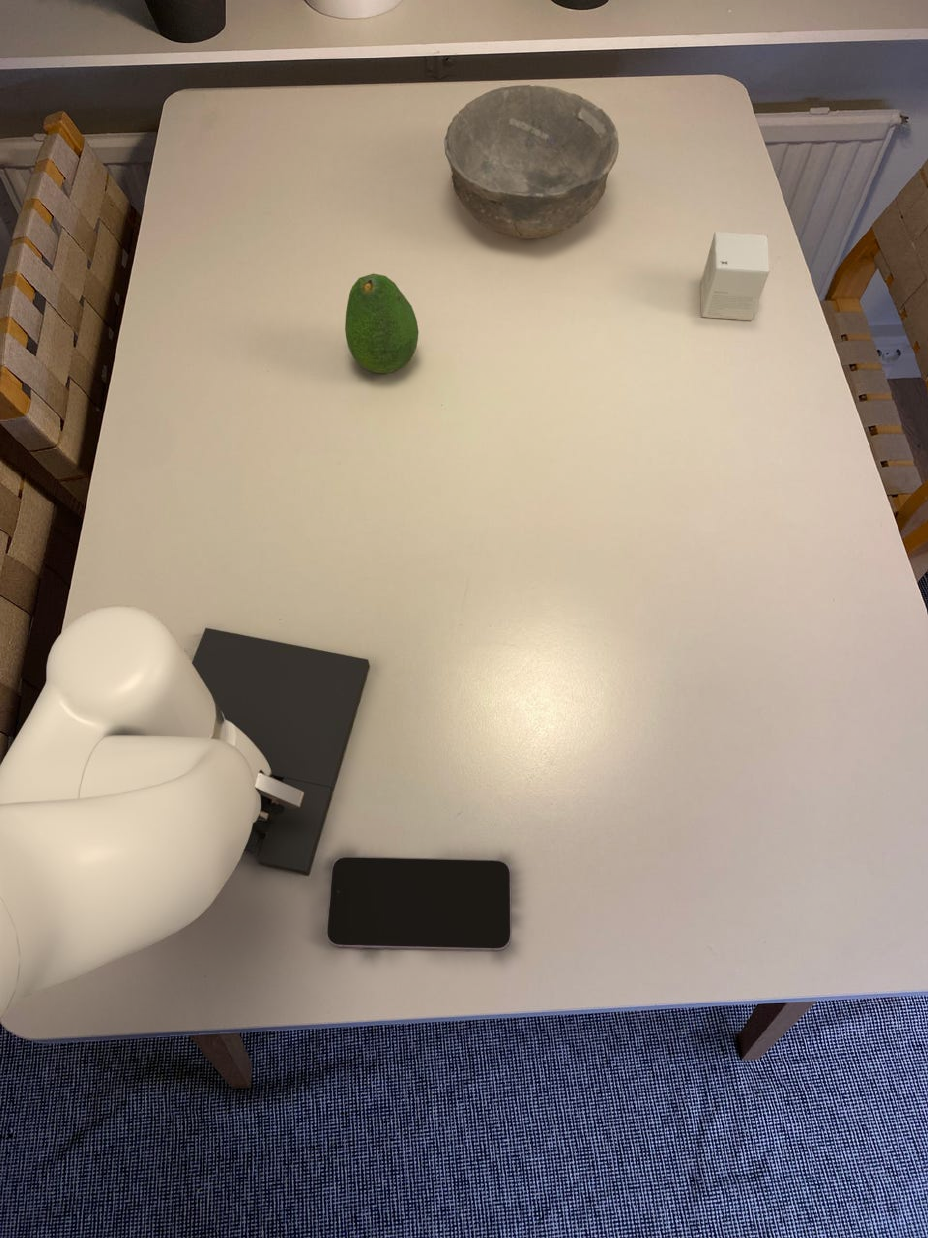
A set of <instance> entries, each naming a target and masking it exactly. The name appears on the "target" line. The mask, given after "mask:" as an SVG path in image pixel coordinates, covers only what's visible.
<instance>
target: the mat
mask: <svg viewBox="0 0 928 1238" xmlns="http://www.w3.org/2000/svg"><path fill="white" fill-rule="evenodd" d="M191 663H192V664H193V666H194V667H195V669H196V671H197V672H198V674H199V675H200V677H201V679H202V680H203V682H204V684H205V685H206V687H207V688H208V690H209V692H210V693H211V695H212V696H213V698H214V700H215V701H216V703H217V704H218V706H219V708H220V709H221V711H222V713H223V715H224V717H225V720H227V721H229V722H231V723H232V724H234V725H235V726H236V727H237V728H238V729H240V730H241V731H242V732H243V733H244V734H245V735H246V736H247V737H248V738H249V739H250V740H251V741H252V742H253V743H254V744H255V746H256V747H257V748H258V749H259V750H260V752H261V753H262V754H263V756H264V757H265V759H266V760H267V762H268V764H269V767H270V769H271V776H273V777H274V779H275V780H278V781H280V782H282V783H284V784H287V785H289V786H291V787H294V788H296V789H298V790H300V791H302V792H304V795H303V798H302V802H301V805H300V808H297V809H289V810H288V809H286V808H285V810H284V813H279V814H278V815H277V819H276V821H275V823H274V824H273V823H269V825H268V828H267V831H266V833H265V834H264V838H263V841H262V844H261V848H260V850H259V852H258V853H259V854H258V857H257V860H256V861H257V863H259V865H260V866H263V867H267V868H271V869H272V868H273V869H275V870H280V871H285V872H290V873H295V874H300V875H304V876H310V873H311V870H312V867H313V863H314V860H315V857H316V853H317V850H318V846H319V842H320V839H321V836H322V832H323V829H324V825H325V822H326V819H327V818H326V817H327V815H328V811H329V808H330V804H331V801H332V798H333V794H334V791H335V787H336V784H337V780H338V777H339V773H340V770H341V767H342V764H343V760H344V756H345V754H346V749H347V747H348V743H349V739H350V736H351V734H352V733H351V732H352V729H353V725H354V723H355V719H356V715H357V712H358V709H359V705H360V701H361V698H362V695H363V692H364V688H365V684H366V681H367V677H368V673H369V670H370V668H371V667H370V661H369V659H368V658H364V657H363V658H362V657H359V656H352V655H347V654H341V653H337V652H332V651H326V650H321V649H316V648H311V647H307V646H301V645H296V644H292V643H287V642H281V641H275V640H271V639H265V638H260V637H255V636H251V635H245V634H239V633H235V632H230V631H225V630H219V629H215V628H210V627H205V628H204V631H203V633H202V635H201V639H200V641H199V644H198V646H197V648H196V651H195V654H194V656H193V659H192V661H191Z"/></svg>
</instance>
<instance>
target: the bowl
mask: <svg viewBox="0 0 928 1238" xmlns="http://www.w3.org/2000/svg"><path fill="white" fill-rule="evenodd" d="M458 111H459V112H458V113H456V114H455V115H454V117H453V118H452V120H451V122H450V123H449V125H448V127H447V130H446V134H445V137H444V140H443V146H444V147H443V148H444V154H445V157H446V158H447V161H448V163H449V165H450V169H451V173H452V174H451V181H452V185H453V187H452V188H453V190H454V193H455V195H456V197H457V198H458V200H459V201H460V203H461V204H462V206H463V207H464V208H465V209H466V210H467V211H468V212H469V213H470V214H471V215H472V216H473V218H474V219H475V220H477V221H478V222H479V223H481V224H482V225H484V226H485V227H487V228H489V229H490V230H492V231H495V232H497V233H500V234H502V235H505V236H508V237H512V238H518V239H542V238H548V237H552V236H555V235H557V234H560V233H561V232H564V231H566V230H567V229H570V228H571V227H573V226H574V225H576V224H578V223H580V222H581V221H582V220H584V219H585V218H586V217H587V216H588V215H589V214H590V213H591V212H593V210H594V209H595V208H596V207H597V206H598V204H599V202H600V201H601V200H602V198H603V196H604V195H605V191H606V187H607V180H608V176H609V175H610V172H611V170H612V168H613V167H614V166H615V163H616V162H617V158H618V154H619V150H620V149H619V148H620V147H619V145H620V143H619V133H618V130H617V128H616V126H615V123H613V121H612V119H611V118H610V116H609V115H608V114H607V113H606V112H605V111H604V109H602V108H600V107H598V106H597V105H595V104H594V103H592V102H591V101H590V100H588V99H586V98H583V97H582V96H581V95H579V94H577V93H572V92H570V91H569V92H568V91H565V90H563V89H561V88H559V87H553V86H545V85H531V84H524V85H523V84H522V85H511V86H501V87H498V88H495V89H492V90H489V91H487V92H485V93H483V94H482V95H479V96H477V97H475V98H474V99H472V100H471V101H468V103H466V104H465V105H464V106H463V108H461V109H460V110H458Z"/></svg>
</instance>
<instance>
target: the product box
mask: <svg viewBox="0 0 928 1238" xmlns="http://www.w3.org/2000/svg"><path fill="white" fill-rule="evenodd" d="M769 253H770V252H769V240H768V235H766V234H757V233H756V234H755V233H739V232H737V233H735V232H723V231H722V232H721V231H720V232H719V231H715V232H714V233H713V236H712V241H711V245H710V247H709V252H708V254H707V259H706V262H705V265H704V269H703V274H702V276H701V280H700V286H699V287H700V314H701V315H700V316H701V317H702V318H708V319H709V318H711V319H725V320H739V321H752V320H753V319H754V315H755V313H756V310H757V308H758V306H759V305H758V303H759V302H760V299H761V296H762V293H763V290H764V288H765V284H766V283H767V279H768V277H769V274H770V272H771V270H770V268H771V267H770V254H769Z"/></svg>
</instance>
